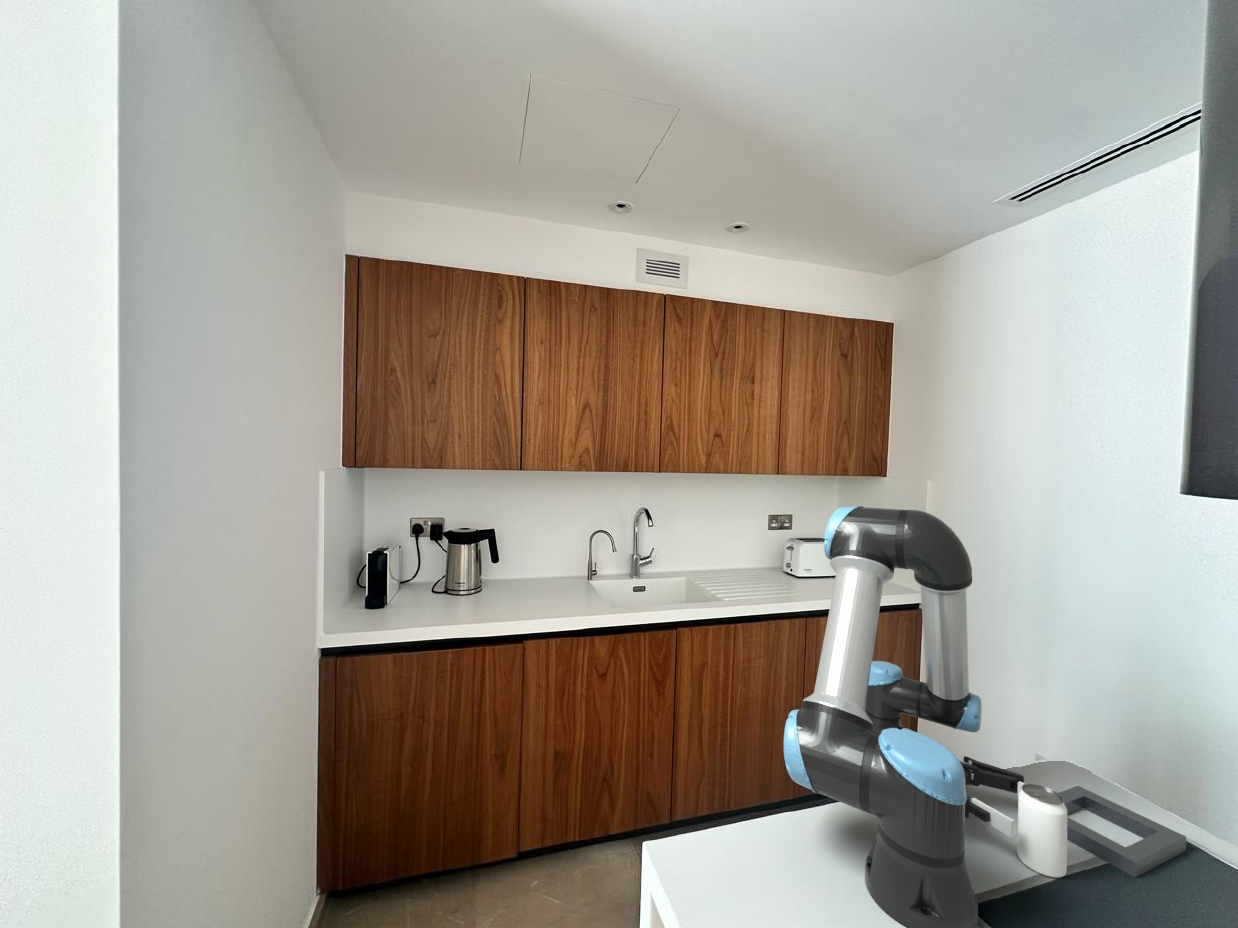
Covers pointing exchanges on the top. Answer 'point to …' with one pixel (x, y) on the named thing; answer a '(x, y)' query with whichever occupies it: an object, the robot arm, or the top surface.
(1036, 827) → the can
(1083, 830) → the jig
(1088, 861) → the top surface
